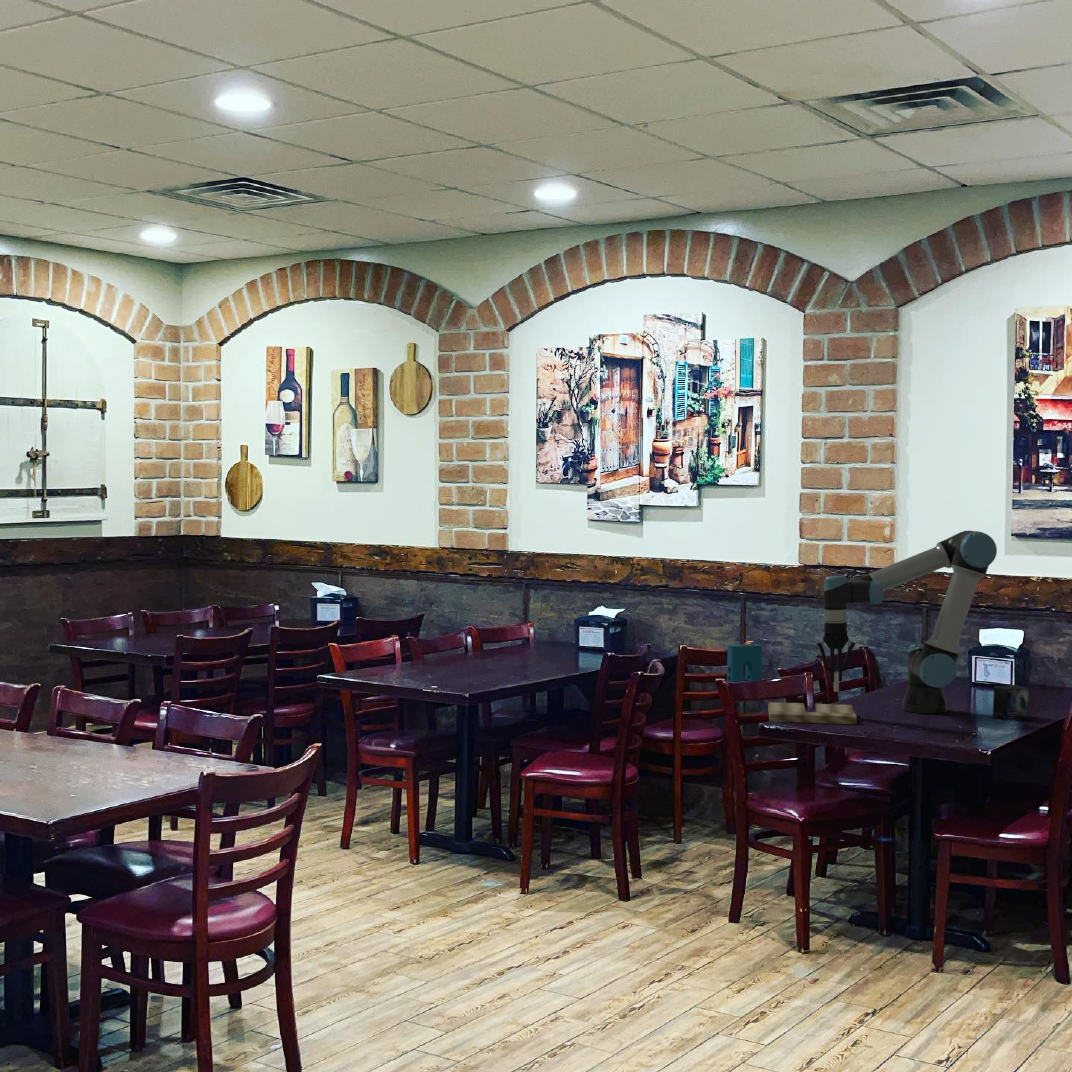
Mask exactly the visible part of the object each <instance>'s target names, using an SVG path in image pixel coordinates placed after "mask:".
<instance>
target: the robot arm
mask: <svg viewBox="0 0 1072 1072" xmlns="http://www.w3.org/2000/svg"><path fill="white" fill-rule="evenodd" d="M997 552H998V549H997V544H996V543H995V540H994V539H993V538H992V537H991V536H990V535H988V534H987V533H986V532H983V531H979V530H975V531H974V530H963V531H960V532H958V533H956V534H954V535H952V536H950V537H948V538H946V539H943V540H941V541H939V542H937V543H936V545H935V547H931V548H930V549H926V550H923V551H922V552H919V553H917V554H914V555H912V556H909V557H907V558H905V559H902V560H900V561H897V562H895V563H893V564H892V563H891V564H890V565H887V566H884V567H882V568H880V569H877V570H875V571H871V572H870V573H868V574H865V575H863V576H860V577H854V578H851V579H850V580H849V581H848V580H847V577H846V576H844V575H829V576H826V577H825V578H824V581H823V582H824V583H823V585H824V586H823V605H824V606H823V609H824V610H823V611H824V612H823V614H824V616H823V618H824V621H825V622H824V625H823V626H824V632H823V633H824V635H823V637H822V639H821V640H819V641H817V642H816V646H817V647H818V648H819V651H820V655H821V659H822V663H823V667H824V669H825V671H827V672H830V675H829V676H830V681H831V682H833V692H836V693H839V691H840V682H843V672H845V671H847V670H848V669H849V665H850V661H851V658H852V657H851V656H852V652H853V649H854V648H855V646H856V643H855V641H852V640H851V639H850V638H849V636H848V623H847V621H848V605H864V604H865V605H873V604H874V605H875V604H882V602H883V601H884V592H885V591H888V590H890V589H893V588H895V587H898V586H900V585H902V584H905V583H908V582H910V581H912V580H915V579H918V578H920V577H923V576H925V575H929V574H930V573H933V572H935V571H938V570H941V569H943V568H946V569H952V575H951V577H950V578H951V579H950V581H949V585H948V587H947V589H946V592H945V596H944V599H943V602H942V605H941V608H940V611H939V614H938V617H937V619H936V623H935V626H934V628H933V632H932V635H931V638H930V639H928V640H926V641H924V644H923V643H922V644H910V645H909V647H908V650H907V651H908V652H907V657H908V658H907V689H906V691H905V693H904V697H903V700H902V703H901V706H902V707H901V710H903V711H905V712H909V713H916V714H917V713H918V714H928V715H929V714H932V715H933V714H943V713H947V712H948V703H947V700H946V697H945V692H944V690H943V687H946V686H948V685H949V684H951V683H953V681H954V680H955V678H956V676H957V669H958V668H957V660H958V659H959V658H958V657H959V655H960V651H959V650H958V647H957V646H958V644H959V640H960V637H961V635H962V634H961V633H962V632H963V629H964V625H965V622H966V619H967V617H968V613H969V610H970V608H971V604H972V602H973V599H974V595H975V592H976V589H977V587H978V584H979V580H981V579H982V578H984V577H986V575H987V572H988V568H989V567H990V565H991V564H992V563H993V562H994V561H995V559H996V557H997V554H998V553H997ZM825 645H826V646H827V647H828V649H829V663H828V661H827V656H826V651H825V648H824V647H825ZM846 645H847V651H846V655H845V659H844V664H843V648H844V647H845V646H846ZM835 650H837V671H835ZM829 665H830V666H829Z"/></svg>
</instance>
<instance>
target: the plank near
mask: <svg viewBox="0 0 1072 1072" xmlns="http://www.w3.org/2000/svg"><path fill="white" fill-rule="evenodd" d="M815 712H821V713H853V714H856V713H855V710H854V707H853V705H852V704H836V703H835V704H833V703H831V704H830V703H829V704H828V703H815Z"/></svg>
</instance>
